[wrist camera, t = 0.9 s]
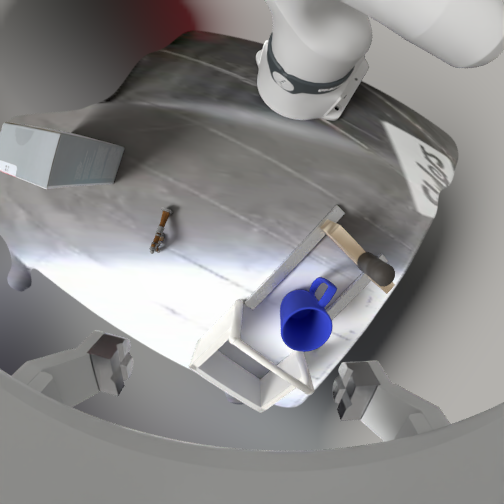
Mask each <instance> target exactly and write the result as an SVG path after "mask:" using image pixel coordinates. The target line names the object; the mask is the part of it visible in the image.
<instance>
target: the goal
mask: <svg viewBox="0 0 504 504" xmlns="http://www.w3.org/2000/svg"><path fill="white" fill-rule="evenodd" d="M242 314H243V301H242V300H236V301H235V304H234V305H233V306H232V307H231V308H230V309H229V310H228V311H227V312H226V313H225V314H224V315H223V316H222V317H221V318H220V319H219V320H218V321H217V322H216V323H215V324H214V325H213V326H212V327H211V328H210V329H209V330H208V331H207V332H206V333H205V334H204V335H203V336H202V337H201V338H200V339H199V340H198V342H197V344H196V347H195V350H194V353H193V356H192V359H191V362H190V365H189V368H190V369H191V370H193V371H194V372H196V373H197V374H199V375H200V376H202V377H203V378H205V379H206V380H208V381H209V382H211V383H212V384H214V385H215V386H217V387H218V388H220V389H222V390H223V391H225V392H226V393H228V394H229V395H231V396H233V397H234V398H236V399H238V400H239V401H241V402H243V403H244V404H246V405H248V406H250V407H251V408H253V409H255V410H257V411H259V412H260V413H262V412H263V411H265V410H267V409H268V408H269V407H271V406H272V405H274V404H275V403H276V402H278V401H279V400H281V399H282V398H283V397H285V396H286V395H287V394H289V393H290V392H291V391H293V390H294V389H295V388H296V387H297V388H298V389H300V390H301V391H303V392H305V394H307V395H311V394H312V393H313V392H314V388H313V384H312V380H311V377H310V373H309V370H308V366H307V362H306V359H305V355H304V352H301V351H296V350H294V351H293V352H292V353H291V354H290V355H289V356H288V357H286V358H285V359H284V360H283V361H282V362H281V363H279V364H278V365H275V364H274V363H273V362H271V361H270V360H268V359H267V358H265V357H264V356H263V355H261V354H260V353H258V352H257V351H256V350H254V349H253V348H251V347H250V346H249V345H247V344H246V343H245V342H243V341H242V340H241V339H240V337H241V326H242ZM228 339H229V342H230V343H231V344H233V345H235V346H236V347H238V348H239V349H240V350H242V351H243V352H245V353H246V354H247V355H249V356H250V357H252V358H253V359H255V360H256V361H257V362H259V363H260V364H262V365H263V366H265V367H266V368H268V369H269V370H271V371H270V372H268V373H267V374H266V375H265V376H264V377H262V378H261V379H259V378H258V377H256V376H255V375H253V374H252V373H250V372H249V371H247V370H246V369H244V368H243V367H241V366H240V365H238V364H237V363H235V362H234V361H232V360H231V359H230V358H228V357H227V356H225V355H224V354H222V353H221V352H220V351H218V349H219V348H220V347H221V346H222V345H223V344H224V343H225V342H226V341H227V340H228Z"/></svg>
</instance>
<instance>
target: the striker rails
mask: <svg viewBox="0 0 504 504" xmlns="http://www.w3.org/2000/svg"><path fill="white" fill-rule="evenodd" d="M344 214H345V213H344V212H343V211H342V210H341V209H340V208H339V206H338V205H335V206H334V207H333V208H332V209H331V211H330V212H329V213H328V214H327V215H326V216H325V217H324V218H323V219H322V220H321V221H320V223H319V224H318V225H317V226H316V227H315V228H314V229H313V230H312V231H311V232H310V233H309V235H308V236H307V237H306V238H305V239H304V240H303V241H302V242H301V243H300V244H299V245H298V246H297V247H296V248H295V250H294V251H293V252H292V253H291V254H290V255H289V256H288V257H287V258H286V259H285V260H284V261H283V262H282V263H281V264H280V265H279V266H278V268H277V269H276V270H275V271H274V272H273V273H272V274H271V275H270V276H269V277H268V278H267V279H266V280H265V281H264V282H263V283H262V284H261V285H260V286H259V287H258V288H257V289H256V290H255V291H254V292H253V294H252V295H251V296H250V297H249V298H248V299H247V300H246V301H245V304H246V305H247V306H248V307H249V308H250V309H252V310H254V309H255V308H256V307H257V306H258V305H259V304H260V303H261V302H262V301H263V300H264V299H265V298H266V297H267V296H268V294H269V293H270V292H271V291H272V290H273V289H274V288H275V287H276V286H277V285H278V284H279V283H280V282H281V281H282V280H283V279H284V278H285V277H286V276H287V275H288V274H289V273H290V272H291V271H292V270H293V269H294V268H295V267H296V266H297V265H298V264H299V262H300V261H301V260H302V259H303V258H304V257H305V256H306V255H307V254H308V253H309V252H310V251H311V250H312V249H313V248H314V247H315V246H316V244H317V243H318V242H319V241H320V240H321V239H322V238H323V237H324V236H325V235H326V233H325V232H324V231H323V230H322V229H321V228H320V227H321V226H322V225H323V224H324V223H325V221H326V220H327V219H328V220H330V221H333V222H335V223H337V222H338V220H339V219H340V218H341V217H342V216H343V215H344ZM377 257H378V258H379V259H381V260H382V261H384V262H386V263H387V262H388V260H387V259H386V258H385V257H384V256H383V254H381V253H380V254H379V255H378V256H377ZM370 281H371V280H370V279H369V278H368V276H367V275H366V274H365V273H364V272H363V273H362V274H361V275H360V276H359V277H358V278H357V279H356V280H355V281H354V282H353V283H352V284H351V285H350V286H349V287H348V288H347V289H346V291H345V292H344V293H343V294H342V295H341V296H340V297H339V298H338V299H337V300H336V301H335V302H334V303H333V304H332V305H331V306H330V307H329V308H328V309H327V310H326V312H327V313H328V314H329V316H330V318H331V320H332V319H333V318H335V317H336V316H337V315H338V314H339V313H340V312H341V311H342V310H343V309H344V308H345V307H346V306H347V305H348V304H349V303H350V302H351V301H352V300H353V299H354V298H355V297H356V295H357V294H358V293H359V292H360V291H361V290H362V289H363V288H364V287H365V286H366V285H367V284H368V283H369V282H370Z"/></svg>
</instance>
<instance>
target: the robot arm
mask: <svg viewBox="0 0 504 504" xmlns="http://www.w3.org/2000/svg"><path fill="white" fill-rule="evenodd" d="M264 1H265V2H266V4H267V5H268V7H269V8H270V11H271V13H272V17H273V32H272V34H271V36H270V38H269V40H266V41H265V43H264V46H263V49H262V50H260V51H259V52H258V53H257V54H256V62H257V65H258V67H259V72H258V77H257V86H258V90H259V93H260V95H261V97H262V99H263V100H264V102H265V103H266V104H267V105H268V106H269V107H270V108H271V109H272V110H274V111H275V112H277V113H278V114H280V115H282V116H285V117H287V118H291V119H296V120H309V119H315V118H322V119H327V120H332V121H334V120H337V119H338V118H339V117H340V115H341V114H342V112H343V110H344V109H345V107H346V106H347V104H348V102H349V101H350V99H351V97H352V96H353V94H354V92H355V91H356V89H357V87H358V86H359V84H360V82H361V81H362V79H363V77H364V76H365V74H366V72H367V70H368V68H369V66H368V63H367V61H366V59H365V56H364V55H365V53H366V52H367V51H368V49H369V48H370V45H371V41H372V29H371V24H370V21H369V18H368V16H369V17H371V18H373V19H374V20H376V21H378V22H379V23H381V24H383V25H384V26H386V27H387V28H389V29H390V30H392V31H393V32H395V33H396V34H398V35H399V36H401V37H402V38H404V39H405V40H407V41H409V42H411V43H413V44H414V45H416V46H418V47H420V48H422V49H423V50H425V51H427V52H428V53H430V54H432V55H434V56H436V57H437V58H439V59H441V60H443V61H444V62H446V63H447V64H449V65H451V66H453V67H456V68H474V67H479V66H483V65H485V64H488V63H490V62H491V61H493V60H494V59H496V58H497V57H498V56H499V55H500V54H501V53H502V51H503V50H504V3H503V1H502V0H264ZM335 107H337V108H338V111H337V110H335ZM130 349H131V344H130V340H129V339H128V338H124V337H120V336H117V335H113V334H109V333H105V332H102V331H98V330H96V331H93V332H92V333H91V334H90V335H89V336H88V337H87V338H86V339H85V340H84V341H83V342H82V343H81V344H80V345H79V346H78V347H77V348H76V349H69V350H66V351H62V352H59V353H55V354H52V355H49V356H45V357H42V358H38V359H35V360H31V361H27V362H26V363H25V364H24V365H22V366H21V367H20V368H19V369H18V370H17V371H16V372H15V373H14V374H13V375H12V376H10V375H9V374H7V373H6V372H4V371H2V370H1V369H0V504H504V402H503V403H501V404H499V405H497V406H495V407H493V408H491V409H489V410H486V411H484V412H482V413H479V414H477V415H474V416H472V417H469V418H467V419H464V420H461V421H459V422H456V423H453V424H450V422H449V421H448V420H447V418H446V417H445V415H444V414H443V412H442V411H441V409H440V408H439V407H438V406H436V405H434V404H432V403H430V402H428V401H426V400H424V399H423V398H421V397H419V396H417V395H415V394H413V393H412V392H410V391H408V390H406V389H404V388H402V387H401V386H399V385H397V384H392V382H391V381H390V379H389V377H388V376H387V374H386V373H385V371H384V369H383V368H382V366H381V365H380V363H379V362H378V361H365V362H342V363H341V365H340V367H339V374H340V376H338V377H337V378H336V379H335V381H334V384H333V398H334V401H335V402H336V403H337V404H339V405H338V408H337V411H338V414H339V417H340V419H341V421H346V420H361V421H362V422H363V423H364V424H365V425H366V426H368V427H369V428H370V429H371V430H372V431H373V432H374V433H375V434H377V435H378V436H379V437H380V438H381V439H382V440H384V441H385V442H380V443H374V444H368V445H361V446H354V447H346V448H336V449H323V450H304V451H269V450H267V451H266V450H248V449H236V448H225V447H217V446H209V445H203V444H196V443H190V442H185V441H180V440H175V439H170V438H165V437H161V436H156V435H152V434H149V433H145V432H141V431H137V430H134V429H130V428H127V427H124V426H120V425H117V424H114V423H111V422H108V421H105V420H103V419H100V418H97V417H94V416H92V415H89V414H87V413H84V412H82V411H79V410H77V409H74V408H72V407H73V406H75V405H77V404H79V403H81V402H82V401H84V400H86V399H88V398H89V397H91V396H93V395H95V394H96V393H98V392H99V391H101V392H105V393H108V394H112V395H115V396H119V394H120V393H121V391H122V389H123V388H124V381H125V380H127V379H129V377H130V375H131V373H132V369H133V358H132V356H131V355H130V353H129V350H130Z"/></svg>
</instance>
